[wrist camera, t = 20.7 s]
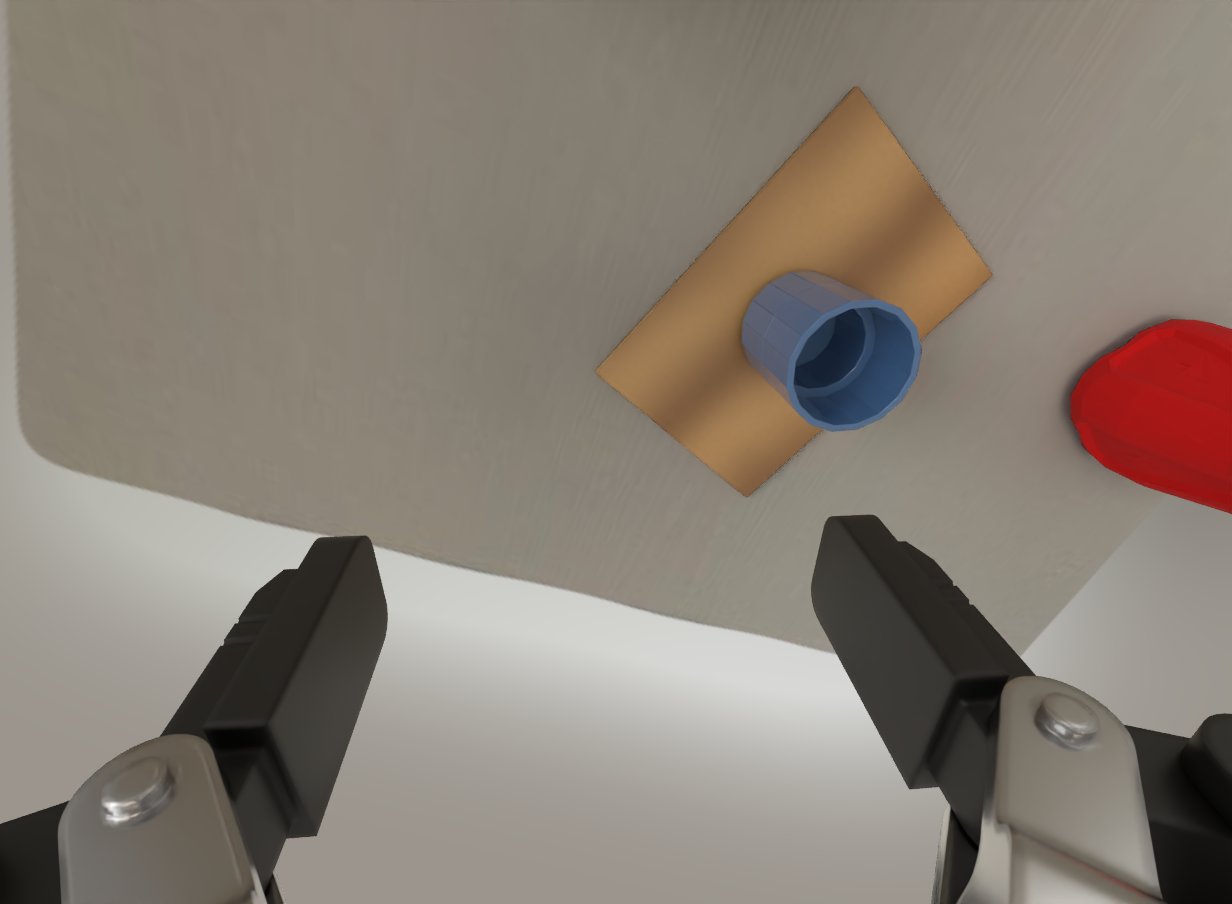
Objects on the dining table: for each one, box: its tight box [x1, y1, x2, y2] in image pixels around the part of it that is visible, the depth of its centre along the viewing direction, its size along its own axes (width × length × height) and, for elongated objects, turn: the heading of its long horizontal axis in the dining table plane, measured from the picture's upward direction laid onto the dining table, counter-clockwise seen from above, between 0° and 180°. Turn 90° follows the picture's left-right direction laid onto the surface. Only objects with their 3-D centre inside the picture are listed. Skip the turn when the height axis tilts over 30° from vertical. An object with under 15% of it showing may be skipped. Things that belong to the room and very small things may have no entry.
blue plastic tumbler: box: [741, 271, 922, 431], centre depth 31 cm, size 6×6×8 cm
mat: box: [595, 86, 992, 497], centre depth 35 cm, size 14×20×1 cm
